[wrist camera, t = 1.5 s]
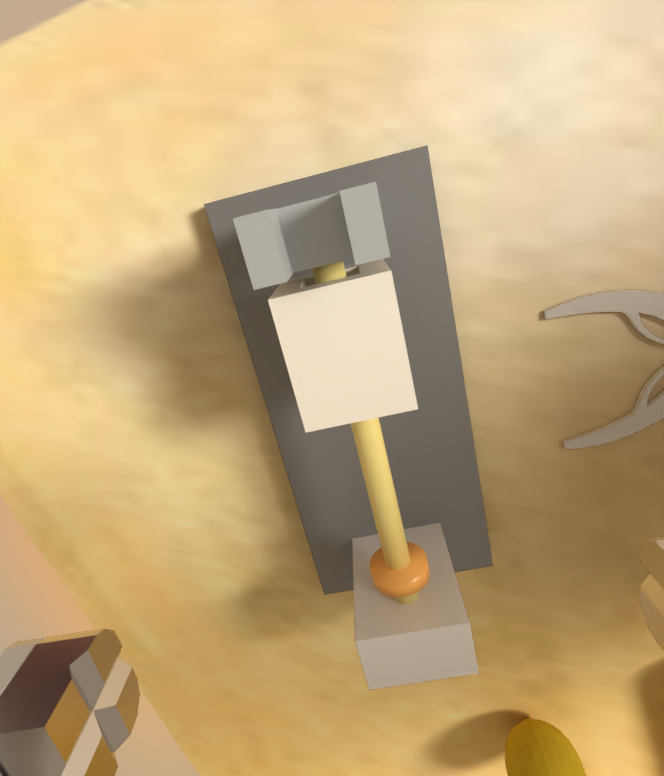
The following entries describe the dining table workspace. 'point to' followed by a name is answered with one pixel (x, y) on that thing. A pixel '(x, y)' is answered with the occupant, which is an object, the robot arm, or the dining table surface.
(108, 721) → the robot arm
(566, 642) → the dining table surface
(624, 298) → the pliers
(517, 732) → the lemon
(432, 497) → the cord rig
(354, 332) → the sleeve
